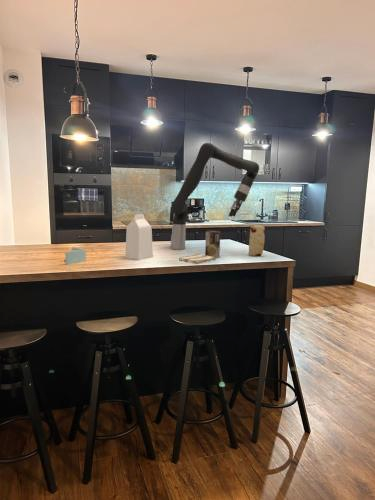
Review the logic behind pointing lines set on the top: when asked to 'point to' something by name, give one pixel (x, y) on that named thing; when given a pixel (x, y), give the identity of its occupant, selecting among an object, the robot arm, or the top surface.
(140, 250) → the milk
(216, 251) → the coffee box
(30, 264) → the top surface
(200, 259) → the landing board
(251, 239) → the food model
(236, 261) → the top surface
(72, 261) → the l-shaped corner panel
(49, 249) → the top surface
